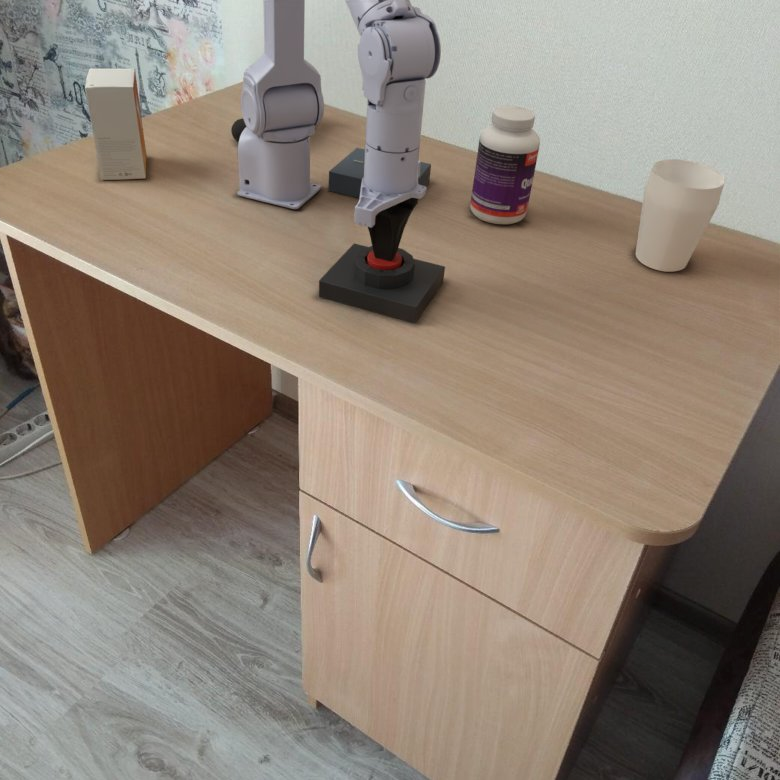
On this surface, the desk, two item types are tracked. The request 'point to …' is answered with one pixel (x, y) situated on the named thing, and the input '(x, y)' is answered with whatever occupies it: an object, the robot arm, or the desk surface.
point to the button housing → (382, 284)
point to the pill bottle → (505, 166)
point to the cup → (676, 212)
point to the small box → (116, 123)
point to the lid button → (384, 262)
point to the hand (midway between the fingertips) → (384, 257)
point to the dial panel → (360, 174)
